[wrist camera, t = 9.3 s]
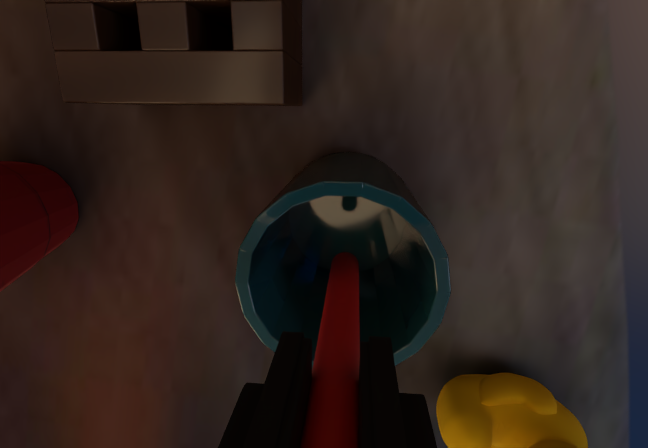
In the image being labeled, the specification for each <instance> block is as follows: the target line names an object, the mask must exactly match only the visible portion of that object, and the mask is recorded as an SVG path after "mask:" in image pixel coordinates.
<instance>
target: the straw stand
mask: <svg viewBox="0 0 648 448" xmlns="http://www.w3.org/2000/svg"><path fill="white" fill-rule="evenodd" d="M44 1H45V3H47V4H46V5H45V6H46V11H47V16H48V22H49V27H50V33H51V38H52V44H53V49H54V50H55V52H54V55H55V61H56V66H57V72H58V77H59V82H60V88H61V93H62V99H63V102H65V103H100V104H146V105H261V106H302V30H301V29H302V0H44ZM230 30H232V39H233V50H235V51H232V49H231V32H230Z"/></svg>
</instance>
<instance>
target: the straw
mask: <svg viewBox="0 0 648 448" xmlns="http://www.w3.org/2000/svg"><path fill="white" fill-rule="evenodd" d="M359 364H360V321H359V263H358V260H357V258H356V257H355V256H354V255H353V254H351V253H348V252H342V253H339V254H337V255H336V256H335V257H334V258H333V260H332V263H331V269H330V274H329V280H328V286H327V291H326V297H325V302H324V308H323V313H322V319H321V325H320V330H319V336H318V341H317V347H316V352H315V358H314V364H313V369H312V380H311V386H310V392H309V398H308V403H307V409H306V415H305V421H304V426H303V432H302V438H301V444H300V448H359Z"/></svg>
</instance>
